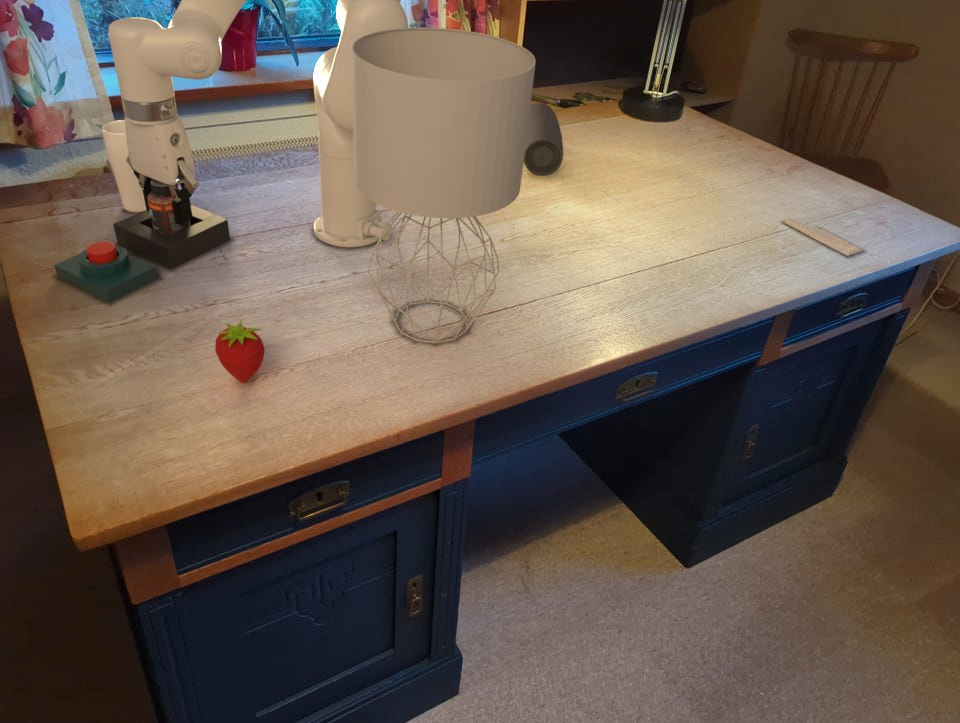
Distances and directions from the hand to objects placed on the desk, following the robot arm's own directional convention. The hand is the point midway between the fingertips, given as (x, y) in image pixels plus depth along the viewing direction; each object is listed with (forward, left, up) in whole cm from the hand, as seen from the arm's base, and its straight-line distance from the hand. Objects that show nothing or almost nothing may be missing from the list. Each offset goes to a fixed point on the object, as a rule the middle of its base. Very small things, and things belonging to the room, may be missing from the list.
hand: (169, 213), depth 126 cm
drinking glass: (+15, -5, -6) cm, 17 cm away
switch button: (-1, +14, -2) cm, 14 cm away
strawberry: (-36, +20, -6) cm, 42 cm away
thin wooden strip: (-93, -80, -5) cm, 123 cm away
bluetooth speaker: (-31, -75, -6) cm, 81 cm away
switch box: (-1, +14, -5) cm, 15 cm away
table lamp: (-48, -7, -6) cm, 49 cm away
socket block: (0, 0, -5) cm, 5 cm away
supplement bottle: (0, 0, -6) cm, 6 cm away
